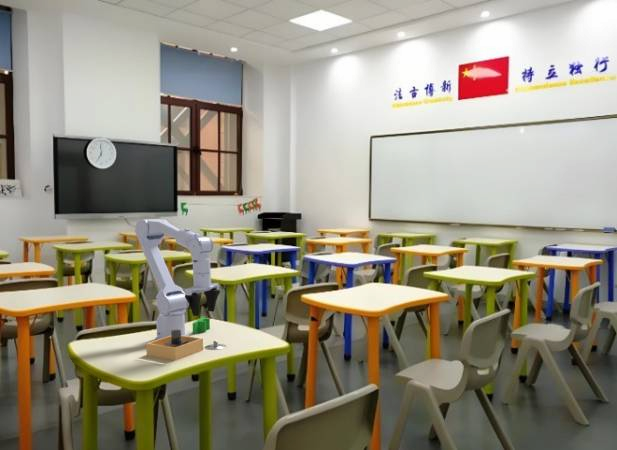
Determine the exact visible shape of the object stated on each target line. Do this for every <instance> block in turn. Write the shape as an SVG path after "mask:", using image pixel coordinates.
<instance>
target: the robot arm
mask: <svg viewBox="0 0 617 450" xmlns="http://www.w3.org/2000/svg"><path fill="white" fill-rule="evenodd" d="M134 233H135V236H136V237H137V239H138V242H139V244H140V247H141V251H142V252H143V255H144V257H145V260H146V262H147V264H148V266H149V269H150V271H151V274H152V276H153V278H154V280H155V283H156V284H157V287H158V289H159V291H158V293H156V296H155V299H156V302H157V309H158V310H159V312H160V313H159V314H158V315H157V318H156V337H155V338H154V339H155V340H159V339H162V338H165V337H168V336H171V331H172V330H181V335H182V336H189V337H191V335H189V334H186V327H185V324H186V323H185V321H186V320H185V318H186V317H185V313H186V312H187V309H188V308H189V307H190V310H191V313H192V316H193V317H198V316H200V305H201V304H200V303H201V298H202V295H200V294H199V293H204V296H205V298H206V304H207V305H206V307H207V312H215V308H216V304H217V300H218V297H219V296H220V293H221V290H220V289H219V286H220V285H219V282H213V283H212V277H211V276H212V273H211V272H212V271H211V252H213V249H214V243H213V240H212V238H211V237H209V236H207V235H206V236H201V235H200V233H196V232H193V231H191V229H190V228H187V227H185V228H181V229H180V228H178V227H176V226H175V225H173V224H171V223H169V221H168V220H166V219H164V218H161V217H160V218H150V219H149V218H148V219H147V218H146V219H144V218H141V219H139V220H137V222H136V224H135V229H134ZM165 235H166V236H168V237H170V238H174V239H175V242H176V244H177V245H180V246H182V247H184V248H185V249H187V251H188V252H189V253H190V259H191V260H192V275H193V276H192V277H193V286H191V287H188V288H185V289H184V290H185V291H184V290H183V287H180V286H179V285H176V284H175V282H174V280H173V278H172V276H171V272H170V270H169V269H168V266H167V264H166V261H165V260H164V256H163V255H162V253H161V250H160V248H159V245H160V244H162V242H163V240H164V238H165Z"/></svg>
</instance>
